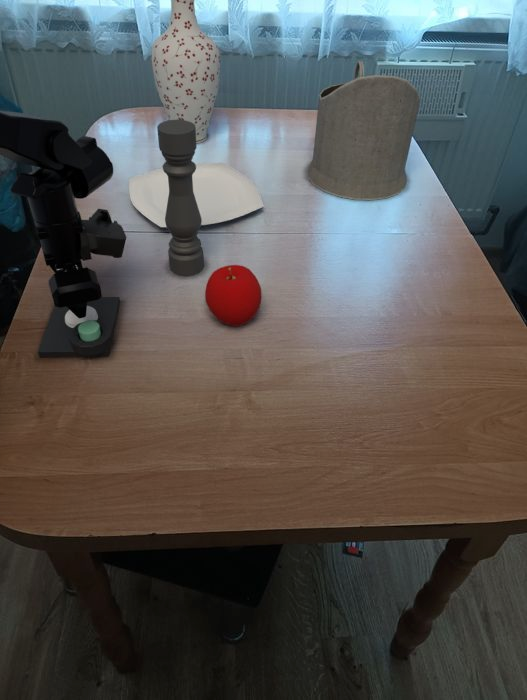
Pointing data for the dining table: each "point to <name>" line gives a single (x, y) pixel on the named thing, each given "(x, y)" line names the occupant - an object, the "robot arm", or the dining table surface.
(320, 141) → the pitcher
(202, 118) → the vase
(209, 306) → the fruit
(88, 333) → the button
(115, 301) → the black button base
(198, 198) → the plate
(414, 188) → the dining table surface
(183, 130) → the candle holder
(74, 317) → the chess piece
